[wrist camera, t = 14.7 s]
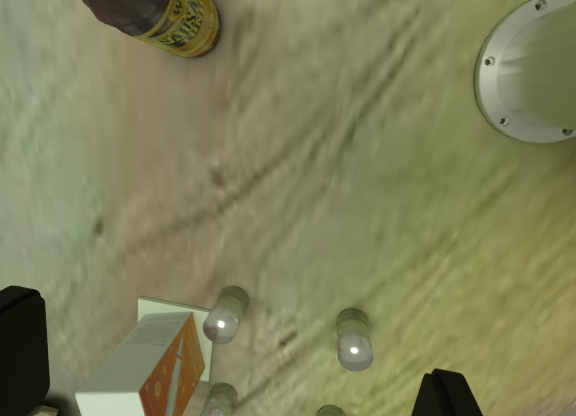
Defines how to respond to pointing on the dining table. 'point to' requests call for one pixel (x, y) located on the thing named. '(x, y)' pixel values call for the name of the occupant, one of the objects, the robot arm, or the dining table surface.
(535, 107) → the robot arm
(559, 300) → the dining table surface
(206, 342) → the sage mat
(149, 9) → the sauce bottle
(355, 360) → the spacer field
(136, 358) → the small box
